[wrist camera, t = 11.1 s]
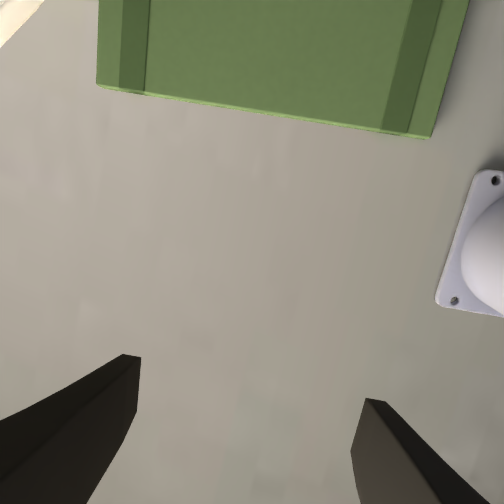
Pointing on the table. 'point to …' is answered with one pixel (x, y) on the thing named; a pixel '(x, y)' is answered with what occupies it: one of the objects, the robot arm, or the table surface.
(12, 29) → the calculator
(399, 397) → the table surface
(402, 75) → the towel
